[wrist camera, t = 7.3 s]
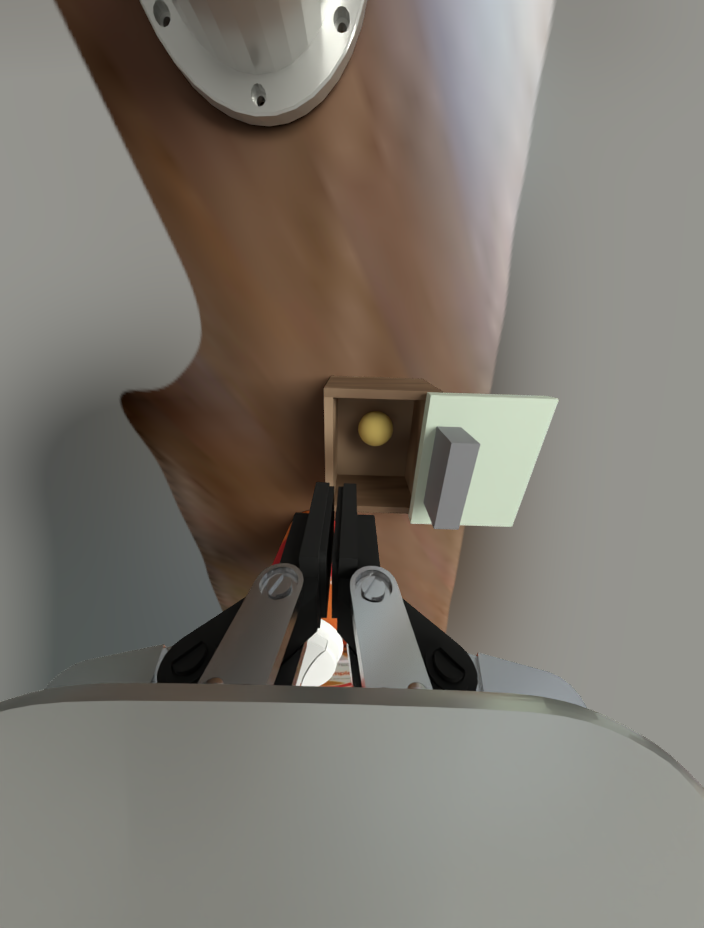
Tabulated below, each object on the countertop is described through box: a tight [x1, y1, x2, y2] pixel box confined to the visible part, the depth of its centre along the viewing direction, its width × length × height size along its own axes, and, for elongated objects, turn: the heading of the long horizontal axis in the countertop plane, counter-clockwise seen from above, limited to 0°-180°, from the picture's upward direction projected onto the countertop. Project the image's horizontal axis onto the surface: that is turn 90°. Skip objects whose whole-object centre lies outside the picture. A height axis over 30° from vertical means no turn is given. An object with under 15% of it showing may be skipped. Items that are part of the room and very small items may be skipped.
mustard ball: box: [358, 411, 393, 446], centre depth 23 cm, size 3×3×3 cm
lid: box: [409, 392, 559, 529], centre depth 18 cm, size 10×8×4 cm
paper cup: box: [272, 510, 343, 686], centre depth 24 cm, size 8×8×14 cm
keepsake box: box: [324, 376, 443, 514], centre depth 23 cm, size 10×8×6 cm
